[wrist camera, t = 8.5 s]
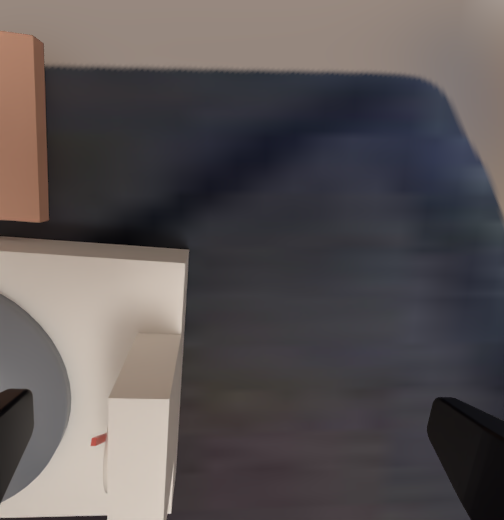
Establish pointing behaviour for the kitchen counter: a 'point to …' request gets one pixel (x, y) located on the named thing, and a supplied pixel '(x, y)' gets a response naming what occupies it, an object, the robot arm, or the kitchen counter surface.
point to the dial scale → (94, 375)
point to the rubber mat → (23, 129)
